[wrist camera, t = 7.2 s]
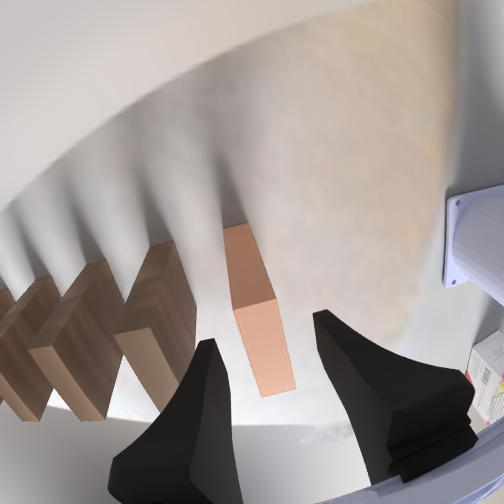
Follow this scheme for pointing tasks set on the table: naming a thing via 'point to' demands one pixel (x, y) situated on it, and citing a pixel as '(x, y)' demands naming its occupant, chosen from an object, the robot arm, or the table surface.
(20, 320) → the domino
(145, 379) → the domino
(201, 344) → the robot arm
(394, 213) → the table surface
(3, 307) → the domino
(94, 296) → the domino
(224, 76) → the table surface
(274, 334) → the head domino
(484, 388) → the ink cartridge box
